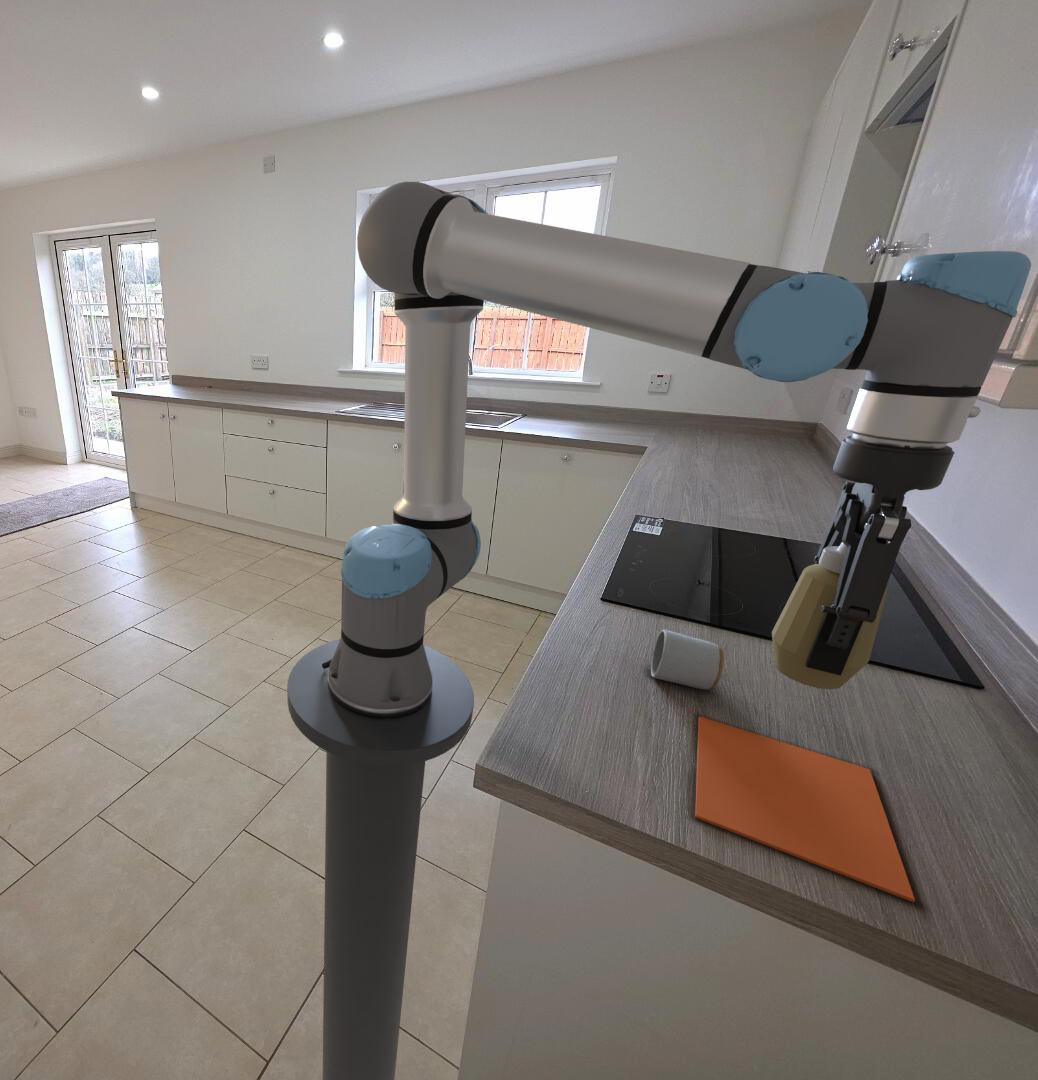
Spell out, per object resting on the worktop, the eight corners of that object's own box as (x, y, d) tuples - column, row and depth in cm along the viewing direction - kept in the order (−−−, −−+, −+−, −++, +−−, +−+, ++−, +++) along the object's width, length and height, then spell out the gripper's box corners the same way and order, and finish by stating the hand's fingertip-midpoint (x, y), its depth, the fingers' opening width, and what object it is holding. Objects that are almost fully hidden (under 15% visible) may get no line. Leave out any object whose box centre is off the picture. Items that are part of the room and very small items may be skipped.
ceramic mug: (716, 701, 82) (730, 656, 79) (652, 687, 85) (664, 643, 83) (704, 664, 91) (717, 623, 88) (647, 652, 94) (657, 612, 92)
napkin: (694, 817, 63) (695, 815, 63) (698, 718, 79) (699, 716, 79) (913, 902, 54) (915, 900, 54) (868, 771, 70) (870, 769, 70)
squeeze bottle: (859, 674, 62) (925, 520, 55) (853, 708, 56) (925, 542, 50) (768, 646, 67) (818, 502, 60) (755, 674, 62) (808, 520, 55)
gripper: (1002, 469, 42) (887, 716, 50) (922, 426, 58) (844, 618, 67) (868, 456, 46) (782, 687, 54) (828, 419, 62) (766, 602, 70)
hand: (816, 649), depth 60 cm, fingers closed on squeeze bottle, 8 cm apart
